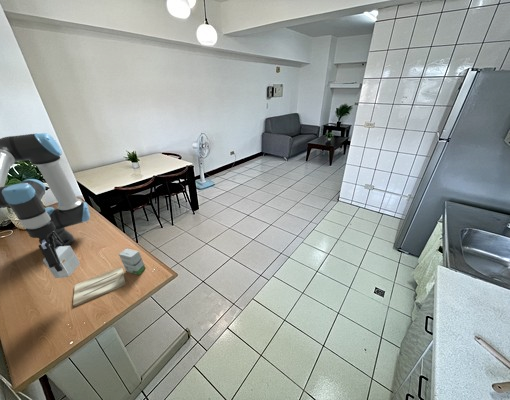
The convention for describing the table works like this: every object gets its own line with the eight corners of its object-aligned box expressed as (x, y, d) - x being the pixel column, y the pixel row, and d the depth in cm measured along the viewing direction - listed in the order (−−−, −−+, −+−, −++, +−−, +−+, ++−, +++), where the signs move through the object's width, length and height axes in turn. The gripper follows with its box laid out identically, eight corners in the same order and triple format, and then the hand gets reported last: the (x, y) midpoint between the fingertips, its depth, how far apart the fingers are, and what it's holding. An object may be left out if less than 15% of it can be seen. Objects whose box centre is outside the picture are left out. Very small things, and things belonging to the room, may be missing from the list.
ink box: (146, 268, 111) (139, 250, 105) (138, 275, 107) (131, 257, 101) (133, 264, 114) (126, 247, 108) (125, 271, 110) (117, 254, 104)
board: (75, 286, 102) (74, 284, 101) (122, 267, 112) (122, 266, 111) (74, 306, 92) (72, 304, 92) (125, 284, 102) (124, 282, 101)
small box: (67, 264, 95) (56, 246, 90) (80, 263, 95) (70, 245, 90) (54, 278, 88) (41, 259, 83) (68, 277, 88) (56, 258, 83)
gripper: (31, 214, 86) (57, 256, 97) (16, 243, 70) (50, 289, 81) (55, 208, 90) (77, 249, 100) (46, 235, 73) (74, 280, 84)
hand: (65, 267), depth 90 cm, fingers closed on small box, 9 cm apart
